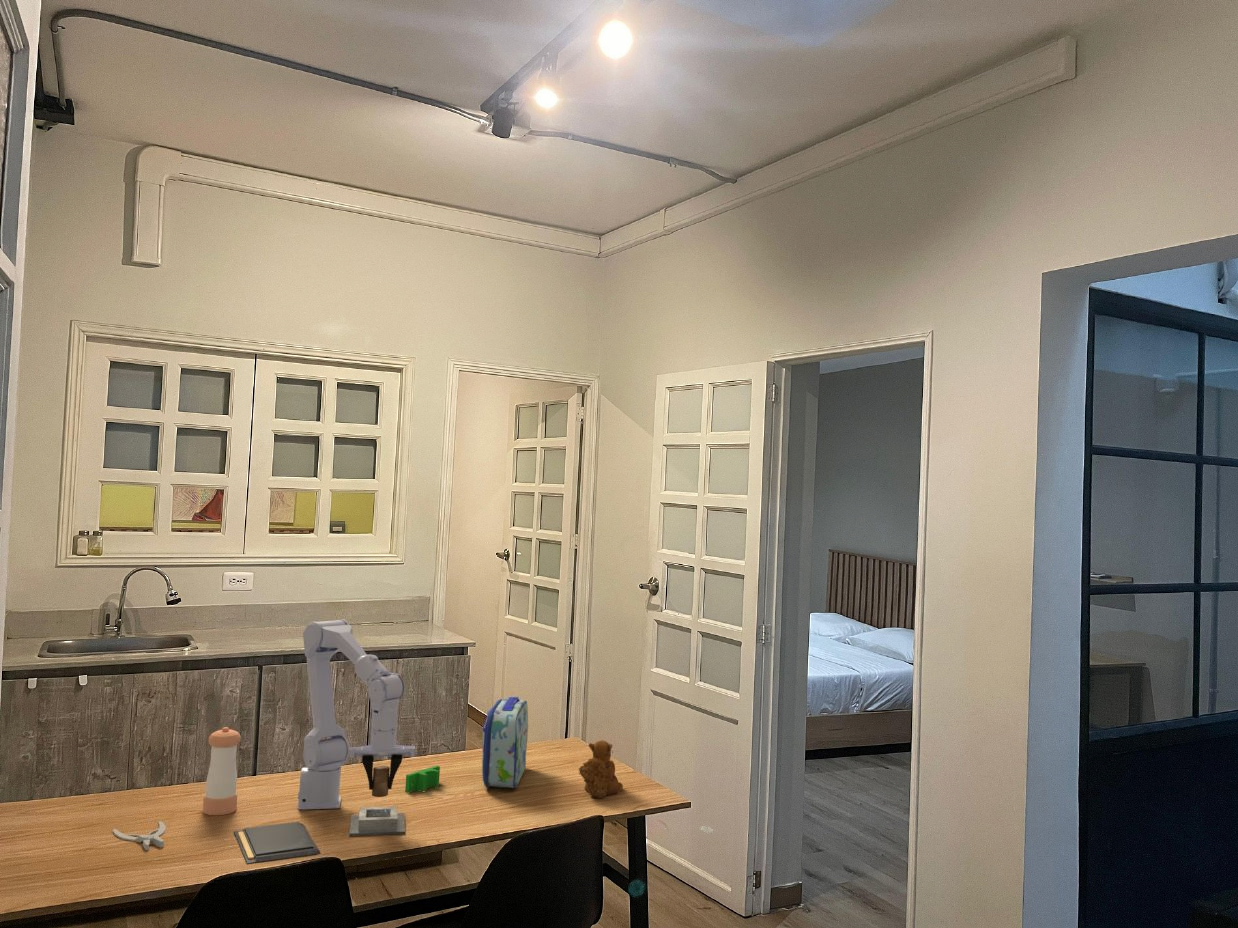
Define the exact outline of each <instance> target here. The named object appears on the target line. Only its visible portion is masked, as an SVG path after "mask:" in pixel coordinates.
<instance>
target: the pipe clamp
mask: <svg viewBox="0 0 1238 928" xmlns="http://www.w3.org/2000/svg"><path fill="white" fill-rule="evenodd" d="M440 771H441V766H439V765H435V766H431V767H429V768H428V767H427V768H425V769H421V770H418V771H415V772H411V773H407V774H405V791H404V792H405V793H407V792H409V793H412V792H414V791H413V790H416V791H418V790H421V791H426V792H427V789H428V788H427V787H436V788H435V789H438V788H439V783H440ZM437 787H438V788H437ZM411 791H412V792H411ZM421 791H420V792H421Z"/></svg>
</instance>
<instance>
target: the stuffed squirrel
mask: <svg viewBox="0 0 1238 928" xmlns="http://www.w3.org/2000/svg"><path fill="white" fill-rule="evenodd" d="M587 746H588V747H589V749H590V750H591V752H592V758H588V759H587V761H585V762H584V763H582V765H581V766H579V768H578V772H579V773H578V775H580V776H581V777H582V778H583V782H584V783H585V784H584V791H586V792H587V793H588V795H589V796H590V797H592V798H597V799H604V798H606V796H609V795H608V794H610V795H614V794H613V793H616V794H619V793H620V792H621V791H622V790H623V788H624V785H623V783H622V782H619V780H618V777H617V776H616V775H615V773H616V766H615V762H614V761H613V760H611V757H612V754H614V752H613V750H612V748H613V744H612V743H609V742H607V741H606V740H599V741H596V742H594V743H591V742H589V743H588V745H587ZM611 753H612V754H611ZM618 792H619V793H618Z"/></svg>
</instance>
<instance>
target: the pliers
mask: <svg viewBox="0 0 1238 928" xmlns="http://www.w3.org/2000/svg"><path fill="white" fill-rule="evenodd" d="M157 824H158V826H159V827H158V828H156V829H154V830H151V831H150V832H148V834H137V833H135V834H134V833H133V834H132V833H131V834H129V833H128V834H125V833H122V832H121V831H119V830H118V829H117V828H113V830H112V831H113V835H114V836H117V838H118V839H120V838H121V839H120V840H123V841H127V840H129V841H130V840H131V841H130V842H137V843H142V846H143V848H144V850H145V851H149V850H150V845H154V846H156V847H158V848H161V849H162V848H164V847H165V840H164V839H163V838H162V837H161V836H163V835H164V834H165V832H166V827H167V826H166V824H165V823H164V822H163V821H157ZM133 836H137V837H133ZM159 836H160V837H159Z"/></svg>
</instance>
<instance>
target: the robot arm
mask: <svg viewBox="0 0 1238 928" xmlns="http://www.w3.org/2000/svg"><path fill="white" fill-rule="evenodd" d="M302 640H303V648H304V649H303V650H304V656H305V657H306V663H307V666H306V667H307V674H308V684H309V694H310V705H311V707H310V708H311V714H312V715H311V716H312V725H313V726H312V727H313V728H312V729H311V730H310V731H309V733H307V734H306V735H305V737H304V739H303V742H304V745H303V746H304V747H303V752H302V759H303V762H304V764H305V767H301V770H300V778H299V789H298V793H297V799H298V802H297V803H298V804H297V810H320V809H321V810H322V809H323V810H326V809H327V810H328V809H329V810H331V809H333V810H334V809H340V807H341V800H342V796H341V795H340V790H341V789H340V788H341V776H342V775H341V772H342V767H343V766H345V762H346V761H347V760H348V758H350V759H352V758H353V759H354V758H360V757H361V763H362V765H363V767H364V769H365V773H366V776H367V781H368V790H370V791H372V787H373V769H374V757H375V758H376V757H390V765H389V767H390V771H389V785H388V790H392V787H393V783H394V780H395V776H396V774H397V772H398V770H399V767H400V766H401V764H402V761H403V757H410V758H411V757H414V758H415V757H416V746H415V745H402V744H401V745H400V744H398V745H397V732H398V716H399V700H400V699H402V697H403V696H404V694H405V691H406V685H405V681H404V679H403V677H402V676H401V674H399V673H393V672H390V671H389V670H388V669H387V668H386V667H385V666H384V665H383V664H382V662H381V661H380V660H379V657H378V656H377V654H376V655H374V654H367V653H366V652H365V650H364V649H363V647H362V646H361V645H360V643H359V642H358V640H357V639H356V638H355V636H354V635H353V627H352V625H350V624H349V622H348V621H347V620H346V619H342V618H340V619H337V620H327V621H325V620H324V621H310V622H308V624H307V625H306V627H305V629H304V630H303V632H302ZM339 651H340V652H341V653H342V654H343V655H344V656H346V658H347V659H348V660H350V661H351V663H353V664H354V673H355V674H356V675H357V676H358V677H359V678H360V680H361V681H362V682H363V683H364V684H365V685H366V687H367V692H368V697H369V699H370V708H371V710H372V711H371V712H372V713H371V715H372V716H371V731H370V744H369V745H362V746H350V743H349V741H348V739H347V735H346V730H345V729H344V728H342V727H341V726H339V725H338V724H337V720H336V708H335V699H334V691H333V681H332V680H333V679H332V672H331V671H332V670H331V662H330V661H331V659H332V658H333V656H334V654H336V653H338V652H339ZM325 738H326V739H325ZM321 739H322V740H321Z"/></svg>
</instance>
